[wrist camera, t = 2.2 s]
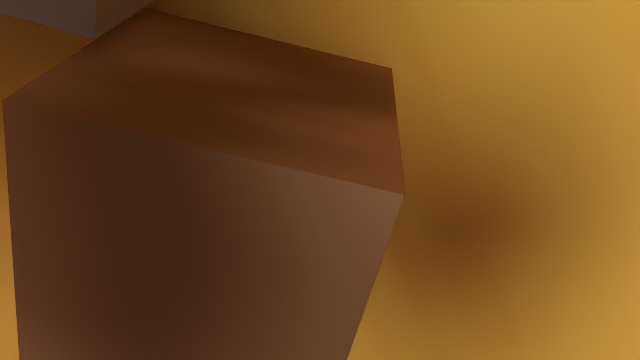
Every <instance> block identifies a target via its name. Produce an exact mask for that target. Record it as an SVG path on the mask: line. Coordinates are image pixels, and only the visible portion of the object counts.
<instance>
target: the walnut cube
mask: <svg viewBox="0 0 640 360" xmlns="http://www.w3.org/2000/svg"><path fill="white" fill-rule="evenodd" d="M2 102H3V117H4V132H5V147H6V163H7V178H8V193H9V208H10V224H11V239H12V254H13V269H14V285H15V300H16V315H17V330H18V345H19V360H347V357H348V354H349V352H350V349H351V346H352V343H353V340H354V337H355V335H356V332H357V329H358V326H359V323H360V320H361V318H362V315H363V312H364V309H365V306H366V304H367V301H368V298H369V295H370V292H371V289H372V287H373V284H374V281H375V278H376V275H377V273H378V270H379V267H380V264H381V261H382V258H383V256H384V253H385V250H386V247H387V244H388V241H389V239H390V236H391V233H392V230H393V227H394V225H395V222H396V219H397V216H398V213H399V210H400V208H401V205H402V202H403V199H404V196H405V191H404V182H403V172H402V163H401V153H400V143H399V134H398V124H397V114H396V105H395V95H394V86H393V76H392V69H390V68H386V67H382V66H378V65H374V64H370V63H366V62H362V61H358V60H354V59H350V58H345V57H341V56H337V55H333V54H329V53H325V52H321V51H317V50H313V49H309V48H305V47H300V46H296V45H292V44H288V43H284V42H280V41H276V40H272V39H268V38H264V37H260V36H255V35H251V34H247V33H243V32H239V31H235V30H231V29H227V28H223V27H219V26H215V25H210V24H206V23H202V22H198V21H194V20H190V19H186V18H182V17H178V16H174V15H170V14H165V13H161V12H157V11H153V10H149V9H143V10H142V11H140V12H138V13H137V14H135V15H134V16H132V17H131V18H129V19H128V20H126V21H125V22H123V23H121V24H120V25H118V26H117V27H115V28H114V29H112V30H111V31H109V32H108V33H106V34H104V35H103V36H101V37H100V38H98V39H97V40H95V41H94V42H92V43H91V44H89V45H87V46H86V47H84V48H83V49H81V50H80V51H78V52H77V53H75V54H74V55H72V56H70V57H69V58H67V59H66V60H64V61H63V62H61V63H60V64H58V65H57V66H55V67H53V68H52V69H50V70H49V71H47V72H46V73H44V74H43V75H41V76H40V77H38V78H36V79H35V80H33V81H32V82H30V83H29V84H27V85H26V86H24V87H23V88H21V89H19V90H18V91H16V92H15V93H13V94H12V95H10V96H9V97H7V98H6V99H4V100H2Z"/></svg>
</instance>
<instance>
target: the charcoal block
mask: <svg viewBox="0 0 640 360" xmlns="http://www.w3.org/2000/svg"><path fill="white" fill-rule="evenodd" d="M153 1H154V0H0V14H4V15H7V16H11V17H15V18H18V19H22V20H26V21H29V22H33V23H37V24H40V25H44V26H48V27H51V28H55V29H59V30H62V31H66V32H69V33H73V34H77V35H80V36H84V37H88V38H91V39H96V38H97V37H99V36H100V35H102V34H103V33H105V32H107V31H108V30H110V29H111V28H113V27H114V26H116V25H117V24H119V23H120V22H122V21H124V20H125V19H127V18H128V17H130V16H131V15H133V14H134V13H136V12H137V11H139V10H140V9H142V8H144V7H145V6H147V5H148V4H150V3H151V2H153Z"/></svg>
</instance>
